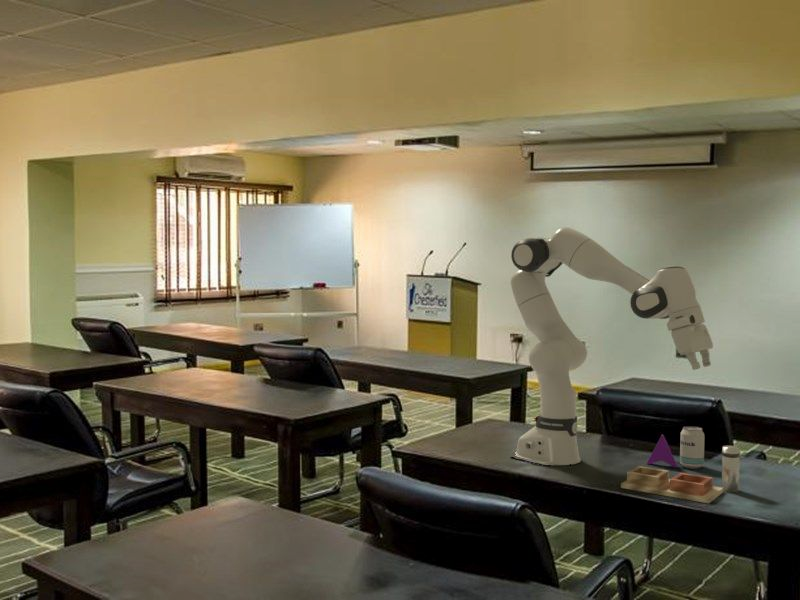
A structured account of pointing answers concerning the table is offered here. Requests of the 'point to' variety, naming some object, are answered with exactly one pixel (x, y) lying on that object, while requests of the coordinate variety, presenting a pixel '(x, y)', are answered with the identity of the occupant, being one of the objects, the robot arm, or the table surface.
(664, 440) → the arrowhead
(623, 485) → the collar board
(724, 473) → the white cylinder
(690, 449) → the beverage can
